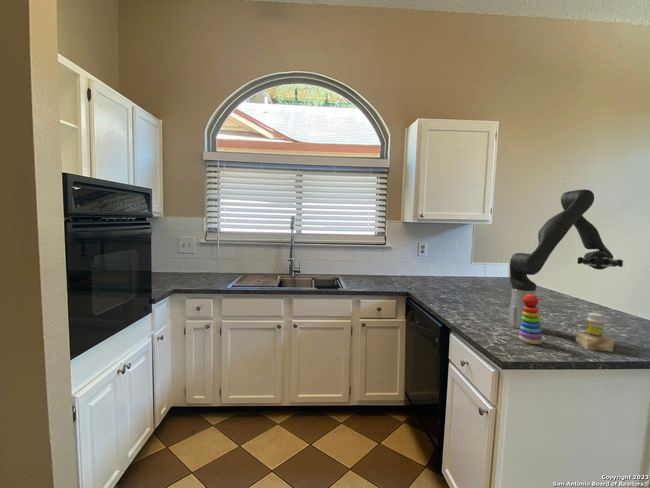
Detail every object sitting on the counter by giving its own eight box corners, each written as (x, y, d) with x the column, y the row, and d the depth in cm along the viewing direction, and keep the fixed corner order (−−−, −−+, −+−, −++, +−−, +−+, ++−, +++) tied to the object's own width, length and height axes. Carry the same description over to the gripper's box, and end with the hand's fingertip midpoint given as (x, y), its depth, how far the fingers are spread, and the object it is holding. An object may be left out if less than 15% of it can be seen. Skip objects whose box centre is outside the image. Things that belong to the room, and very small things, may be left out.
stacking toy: (537, 338, 126) (538, 292, 125) (546, 345, 119) (548, 297, 118) (515, 336, 128) (516, 291, 127) (523, 344, 120) (524, 296, 119)
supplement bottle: (586, 332, 121) (586, 311, 121) (602, 335, 118) (603, 313, 118) (586, 336, 117) (587, 314, 117) (602, 339, 114) (604, 316, 114)
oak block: (586, 349, 115) (587, 338, 115) (575, 341, 123) (576, 331, 123) (613, 351, 113) (613, 340, 113) (600, 343, 121) (600, 333, 120)
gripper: (578, 250, 144) (577, 252, 131) (621, 252, 134) (624, 255, 122) (577, 267, 144) (576, 270, 132) (620, 270, 135) (623, 274, 122)
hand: (599, 263), depth 127 cm, fingers open, 8 cm apart
